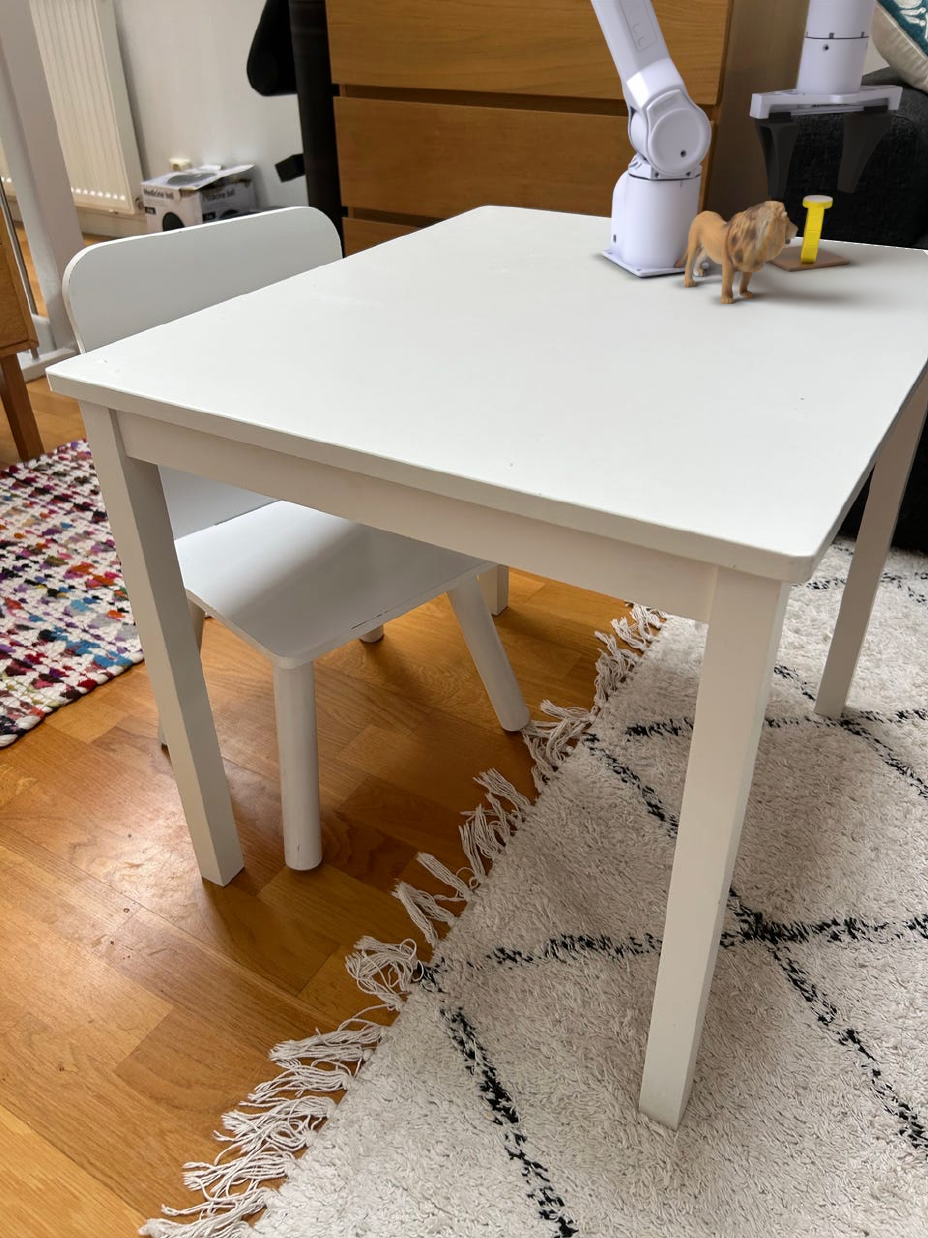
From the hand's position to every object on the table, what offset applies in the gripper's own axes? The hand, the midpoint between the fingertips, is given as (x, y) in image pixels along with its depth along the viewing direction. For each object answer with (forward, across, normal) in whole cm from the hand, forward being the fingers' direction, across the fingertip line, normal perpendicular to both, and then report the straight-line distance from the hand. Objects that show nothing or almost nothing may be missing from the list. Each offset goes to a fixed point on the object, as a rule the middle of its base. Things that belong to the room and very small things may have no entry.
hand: (810, 193), depth 97 cm
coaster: (+6, 0, 0) cm, 6 cm away
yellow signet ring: (+6, 0, -1) cm, 6 cm away
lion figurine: (+7, -12, -8) cm, 16 cm away
